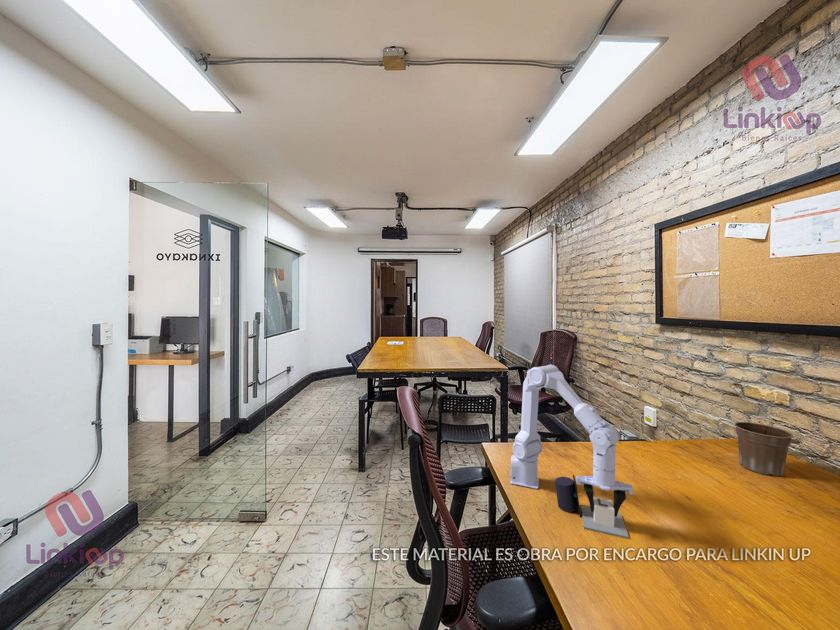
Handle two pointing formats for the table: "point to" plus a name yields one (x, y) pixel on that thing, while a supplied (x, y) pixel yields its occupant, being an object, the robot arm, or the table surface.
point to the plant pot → (763, 447)
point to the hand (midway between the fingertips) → (603, 512)
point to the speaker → (567, 494)
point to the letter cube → (603, 511)
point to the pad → (589, 524)
